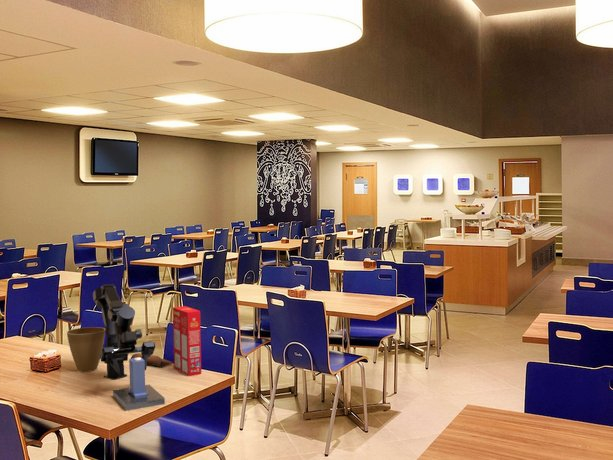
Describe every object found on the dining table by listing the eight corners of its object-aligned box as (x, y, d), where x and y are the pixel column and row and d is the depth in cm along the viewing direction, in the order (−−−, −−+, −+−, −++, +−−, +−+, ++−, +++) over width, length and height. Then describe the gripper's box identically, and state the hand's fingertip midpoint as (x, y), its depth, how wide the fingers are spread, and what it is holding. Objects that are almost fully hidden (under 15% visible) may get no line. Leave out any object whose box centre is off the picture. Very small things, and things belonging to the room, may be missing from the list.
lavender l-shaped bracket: (128, 396, 224) (127, 355, 223) (139, 395, 225) (138, 353, 225) (135, 404, 215) (134, 361, 214) (147, 402, 217) (146, 359, 216)
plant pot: (114, 367, 263) (113, 328, 262) (84, 376, 250) (83, 335, 249) (90, 362, 271) (89, 325, 270) (60, 370, 258) (58, 331, 257)
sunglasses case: (175, 363, 268) (169, 351, 265) (165, 375, 263) (158, 363, 260) (144, 358, 277) (138, 346, 274) (134, 369, 272) (127, 358, 269)
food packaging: (201, 374, 251) (200, 311, 250) (188, 376, 249) (187, 312, 247) (186, 366, 264) (184, 305, 262) (174, 368, 261) (172, 307, 259)
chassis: (113, 395, 225) (112, 390, 225) (149, 390, 231) (149, 384, 231) (125, 410, 209) (125, 404, 209) (164, 403, 216) (164, 398, 215)
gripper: (100, 324, 224) (108, 363, 215) (153, 319, 234) (163, 355, 225) (96, 342, 232) (104, 380, 223) (147, 336, 241) (156, 372, 232)
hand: (132, 371), depth 225 cm, fingers open, 9 cm apart
